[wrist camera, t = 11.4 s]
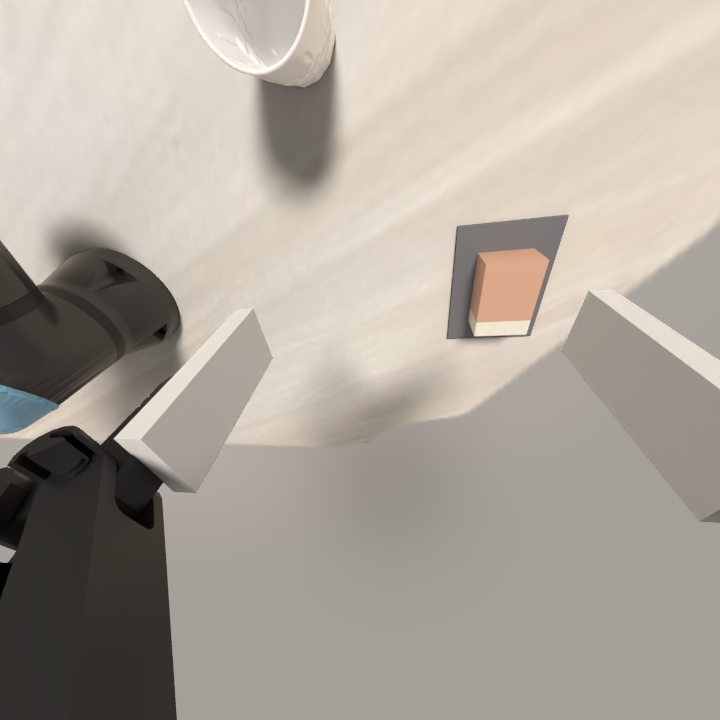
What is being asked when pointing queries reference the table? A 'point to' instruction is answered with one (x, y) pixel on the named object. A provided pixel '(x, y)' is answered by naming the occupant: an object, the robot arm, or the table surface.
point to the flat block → (506, 291)
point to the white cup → (269, 36)
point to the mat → (491, 239)
